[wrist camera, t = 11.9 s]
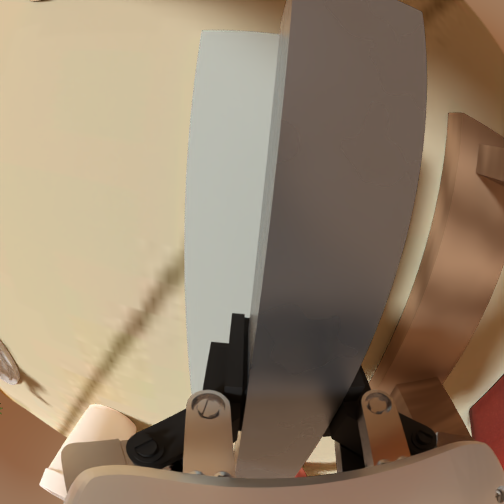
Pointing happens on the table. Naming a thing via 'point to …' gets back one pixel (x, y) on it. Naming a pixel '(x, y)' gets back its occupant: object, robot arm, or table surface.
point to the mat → (225, 183)
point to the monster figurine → (8, 367)
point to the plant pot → (490, 420)
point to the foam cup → (88, 440)
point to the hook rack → (449, 278)
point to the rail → (329, 216)
